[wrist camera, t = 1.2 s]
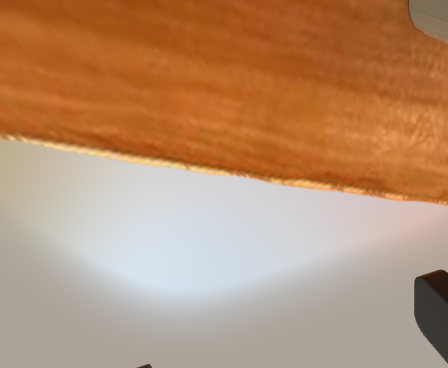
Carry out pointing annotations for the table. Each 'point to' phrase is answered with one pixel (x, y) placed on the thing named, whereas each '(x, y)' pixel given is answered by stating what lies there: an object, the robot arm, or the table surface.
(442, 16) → the cup
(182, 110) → the table surface
